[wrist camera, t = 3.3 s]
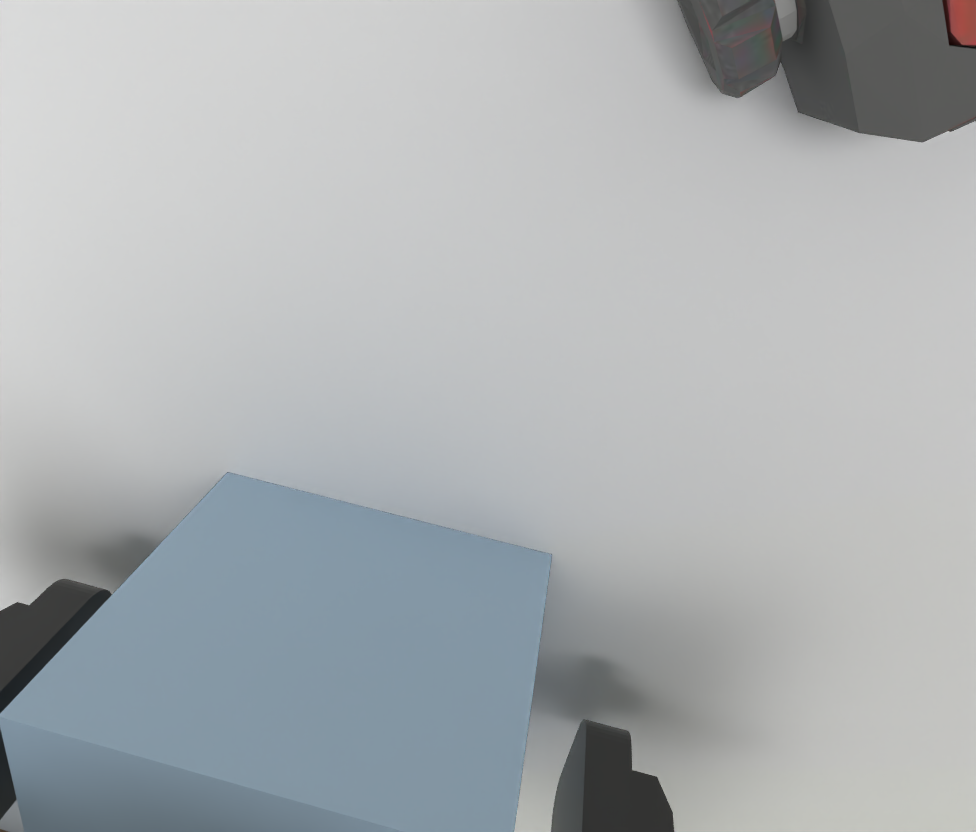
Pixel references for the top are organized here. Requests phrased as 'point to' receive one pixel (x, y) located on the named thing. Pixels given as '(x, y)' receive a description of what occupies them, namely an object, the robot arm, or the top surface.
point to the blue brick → (290, 679)
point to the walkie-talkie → (848, 58)
